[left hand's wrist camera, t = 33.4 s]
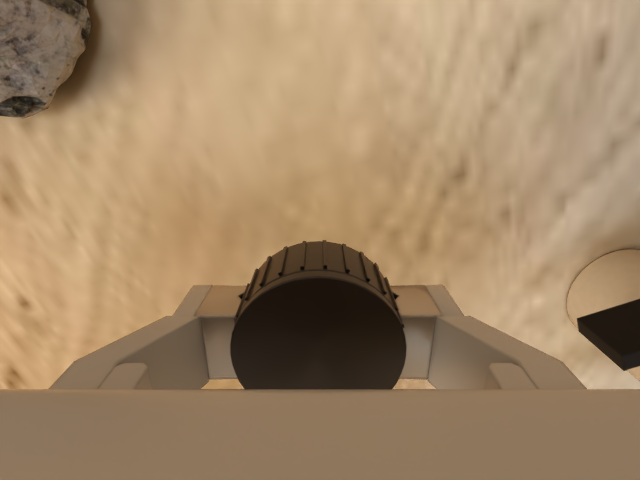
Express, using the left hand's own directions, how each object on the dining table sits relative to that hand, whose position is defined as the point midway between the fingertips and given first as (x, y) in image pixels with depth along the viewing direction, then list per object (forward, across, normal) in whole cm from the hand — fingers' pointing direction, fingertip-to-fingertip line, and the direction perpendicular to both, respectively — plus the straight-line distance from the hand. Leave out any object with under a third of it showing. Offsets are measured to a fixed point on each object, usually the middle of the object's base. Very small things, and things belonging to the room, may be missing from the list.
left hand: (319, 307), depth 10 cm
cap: (-2, 0, 0) cm, 2 cm away
